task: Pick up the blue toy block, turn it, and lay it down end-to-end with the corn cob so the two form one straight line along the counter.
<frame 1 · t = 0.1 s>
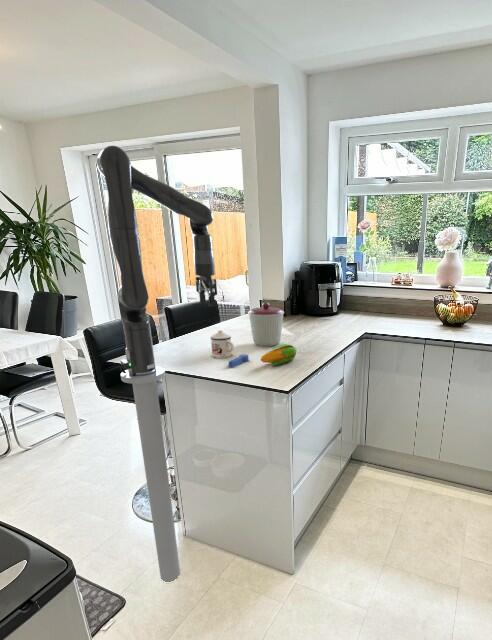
hand: (207, 304, 158), 25 cm above the worktop, tool pointing down, fingers open, 8 cm apart
blue toy block: (239, 363, 170), on the worktop
corn: (279, 363, 170), on the worktop
teacup with lid: (224, 356, 180), on the worktop
canister: (266, 344, 202), on the worktop
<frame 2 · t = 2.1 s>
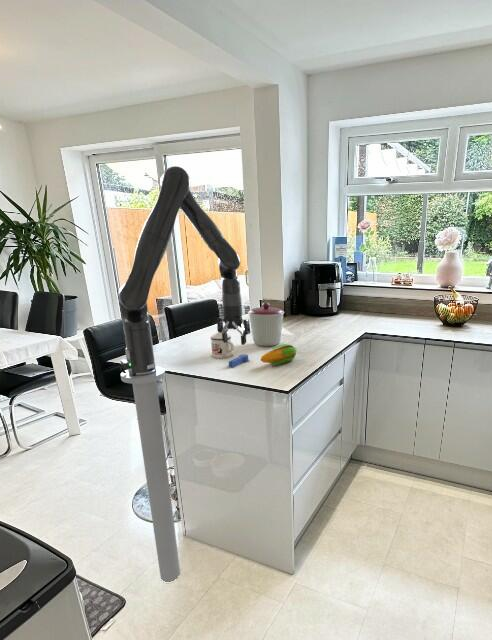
hand: (234, 343, 164), 9 cm above the worktop, tool pointing down, fingers open, 8 cm apart
nothing on the worktop moved.
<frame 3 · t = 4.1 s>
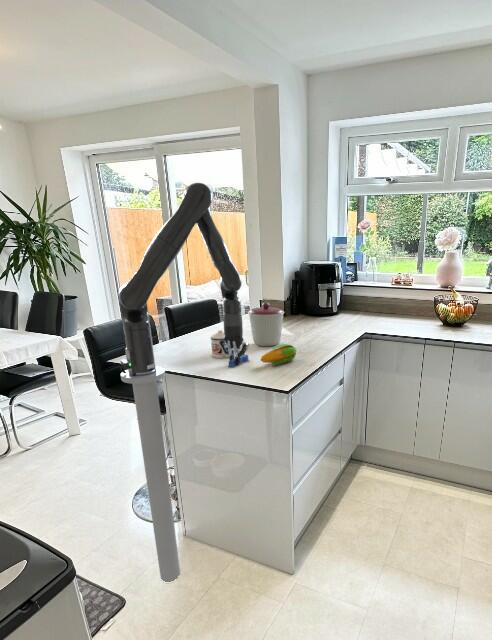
hand: (235, 364, 167), 0 cm above the worktop, tool pointing down, fingers closed on blue toy block, 2 cm apart
blue toy block: (238, 363, 170), on the worktop, touching gripper
everything else where it was.
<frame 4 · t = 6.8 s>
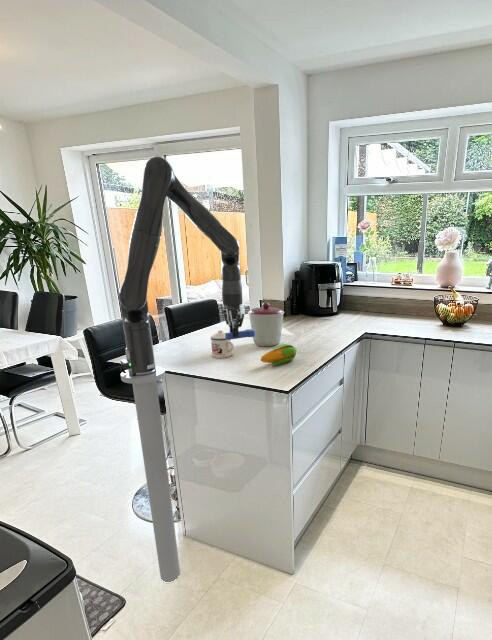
hand: (234, 336, 156), 14 cm above the worktop, tool pointing down, fingers closed on blue toy block
blue toy block: (241, 337, 158), point 13 cm above the worktop, touching gripper
everything else where it was.
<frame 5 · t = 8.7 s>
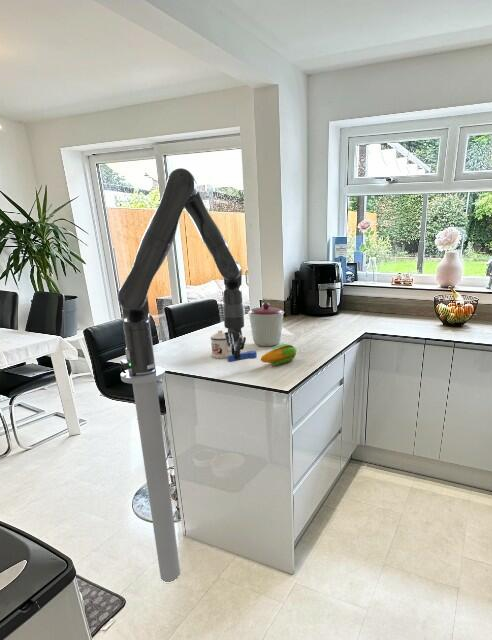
hand: (236, 358, 157), 5 cm above the worktop, tool pointing down, fingers closed on blue toy block
blue toy block: (243, 359, 159), point 5 cm above the worktop, touching gripper
everything else where it was.
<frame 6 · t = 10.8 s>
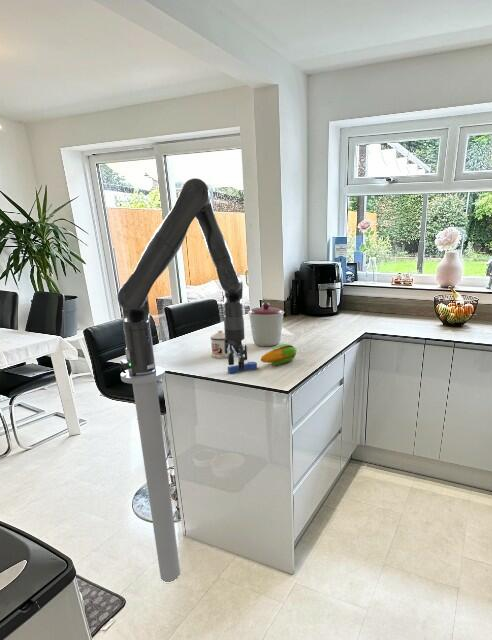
hand: (236, 367, 158), 2 cm above the worktop, tool pointing down, fingers open, 8 cm apart
blue toy block: (243, 370, 160), on the worktop
everything else where it was.
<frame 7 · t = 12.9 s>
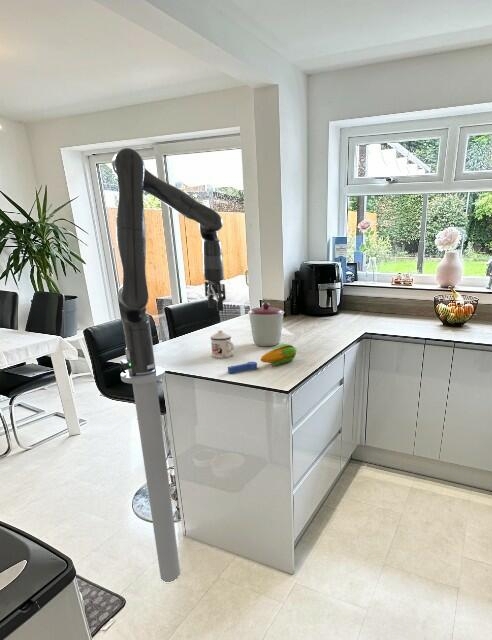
hand: (215, 309, 160), 23 cm above the worktop, tool pointing down, fingers open, 8 cm apart
nothing on the worktop moved.
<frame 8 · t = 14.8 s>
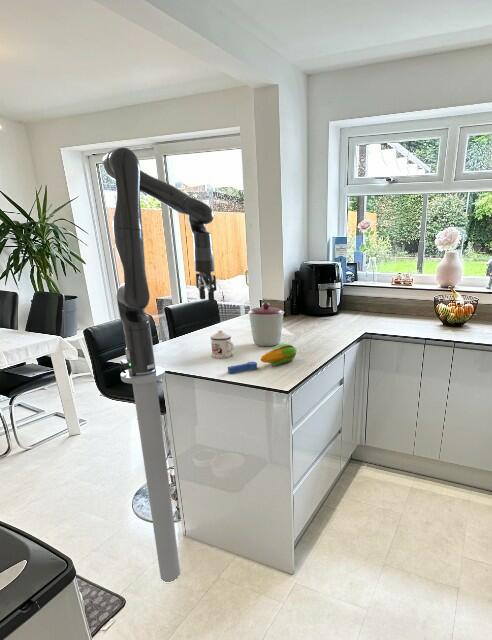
hand: (207, 300, 164), 26 cm above the worktop, tool pointing down, fingers open, 8 cm apart
nothing on the worktop moved.
at the end: blue toy block 0.1 cm from the target spot, on the worktop; the gripper is holding nothing; corn moved 0.2 cm from its start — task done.
